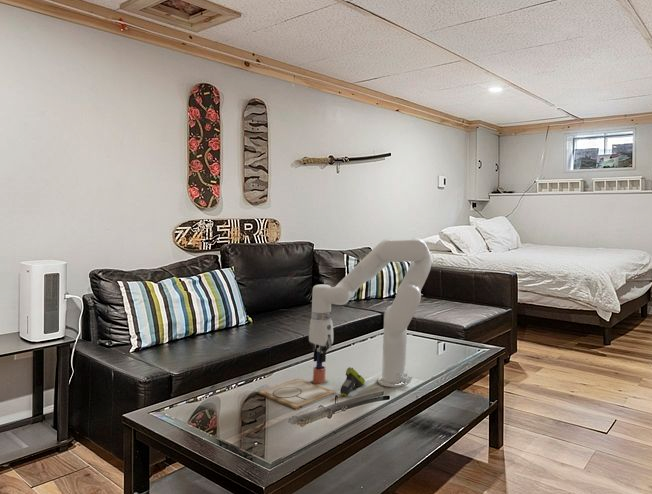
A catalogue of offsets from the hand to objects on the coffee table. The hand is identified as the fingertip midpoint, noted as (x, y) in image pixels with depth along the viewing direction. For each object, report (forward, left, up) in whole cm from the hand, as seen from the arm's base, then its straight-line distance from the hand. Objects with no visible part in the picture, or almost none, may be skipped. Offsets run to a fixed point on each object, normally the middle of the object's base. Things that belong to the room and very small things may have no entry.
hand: (319, 361), depth 197 cm
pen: (0, 0, -7) cm, 7 cm away
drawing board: (-3, +13, -9) cm, 16 cm away
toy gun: (-17, -2, -9) cm, 19 cm away
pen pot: (0, 0, -9) cm, 9 cm away
